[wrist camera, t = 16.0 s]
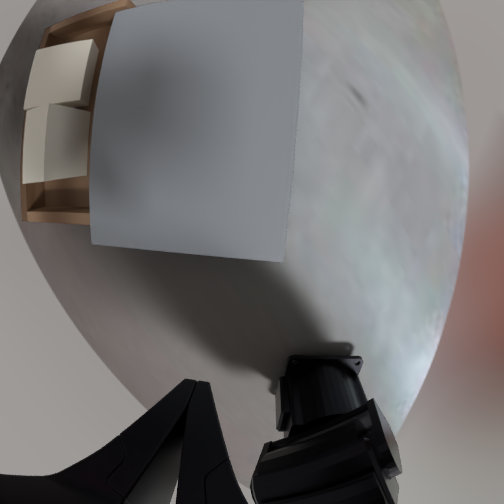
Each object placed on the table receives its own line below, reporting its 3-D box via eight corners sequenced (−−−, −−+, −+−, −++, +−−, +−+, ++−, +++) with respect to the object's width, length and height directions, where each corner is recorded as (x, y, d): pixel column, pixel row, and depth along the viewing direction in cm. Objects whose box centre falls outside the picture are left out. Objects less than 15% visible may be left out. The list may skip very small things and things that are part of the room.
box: (143, 14, 14) (128, -2, 11) (119, 217, 19) (98, 225, 16) (63, 37, 14) (45, 28, 11) (44, 213, 19) (22, 221, 16)
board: (296, 28, 14) (303, 0, 10) (279, 243, 19) (283, 262, 15) (138, 32, 14) (115, 12, 11) (119, 229, 19) (91, 244, 15)
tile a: (36, 50, 11) (46, 59, 13) (23, 109, 12) (36, 113, 14) (92, 38, 12) (99, 50, 14) (79, 99, 14) (88, 106, 16)
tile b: (49, 103, 11) (26, 110, 11) (43, 181, 13) (22, 183, 13) (90, 112, 16) (68, 116, 16) (86, 175, 17) (65, 177, 17)
